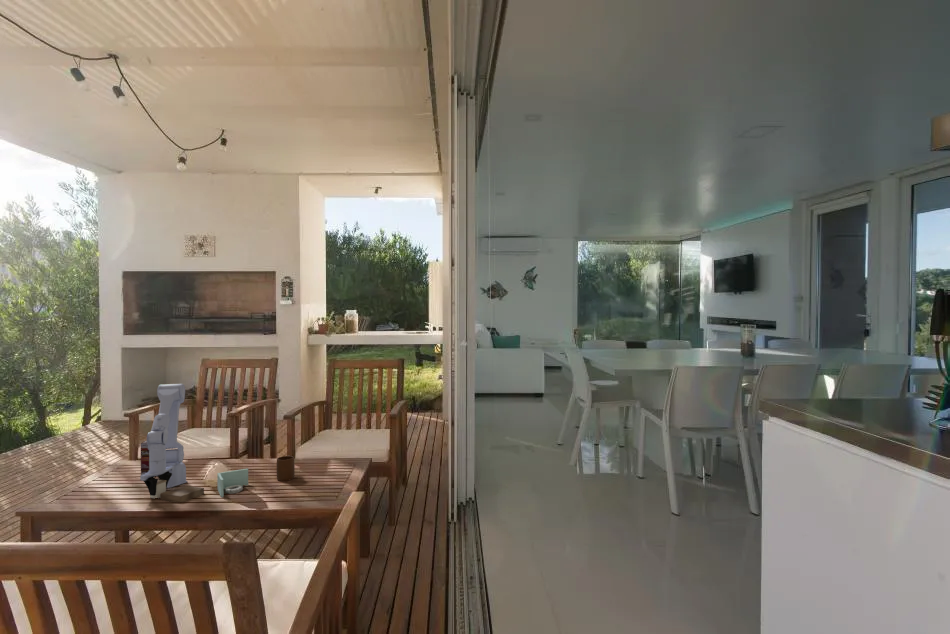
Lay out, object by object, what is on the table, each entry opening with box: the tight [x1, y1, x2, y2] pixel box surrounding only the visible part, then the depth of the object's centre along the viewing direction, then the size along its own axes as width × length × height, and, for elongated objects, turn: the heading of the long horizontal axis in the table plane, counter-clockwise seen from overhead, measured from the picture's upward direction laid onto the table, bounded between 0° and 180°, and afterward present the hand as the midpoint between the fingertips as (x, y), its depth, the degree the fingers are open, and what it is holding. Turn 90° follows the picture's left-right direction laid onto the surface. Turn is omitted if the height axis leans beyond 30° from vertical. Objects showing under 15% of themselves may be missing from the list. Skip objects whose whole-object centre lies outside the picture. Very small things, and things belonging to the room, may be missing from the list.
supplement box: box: [140, 440, 149, 476], centre depth 245 cm, size 9×5×16 cm, turn 100°
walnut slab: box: [159, 484, 205, 503], centre depth 214 cm, size 11×11×3 cm
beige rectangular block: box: [149, 478, 167, 499], centre depth 214 cm, size 4×4×6 cm
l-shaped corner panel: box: [216, 468, 249, 498], centre depth 221 cm, size 12×12×8 cm
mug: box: [276, 454, 296, 482], centre depth 238 cm, size 12×8×9 cm, turn 3°
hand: (158, 493), depth 214 cm, fingers closed on beige rectangular block, 4 cm apart
